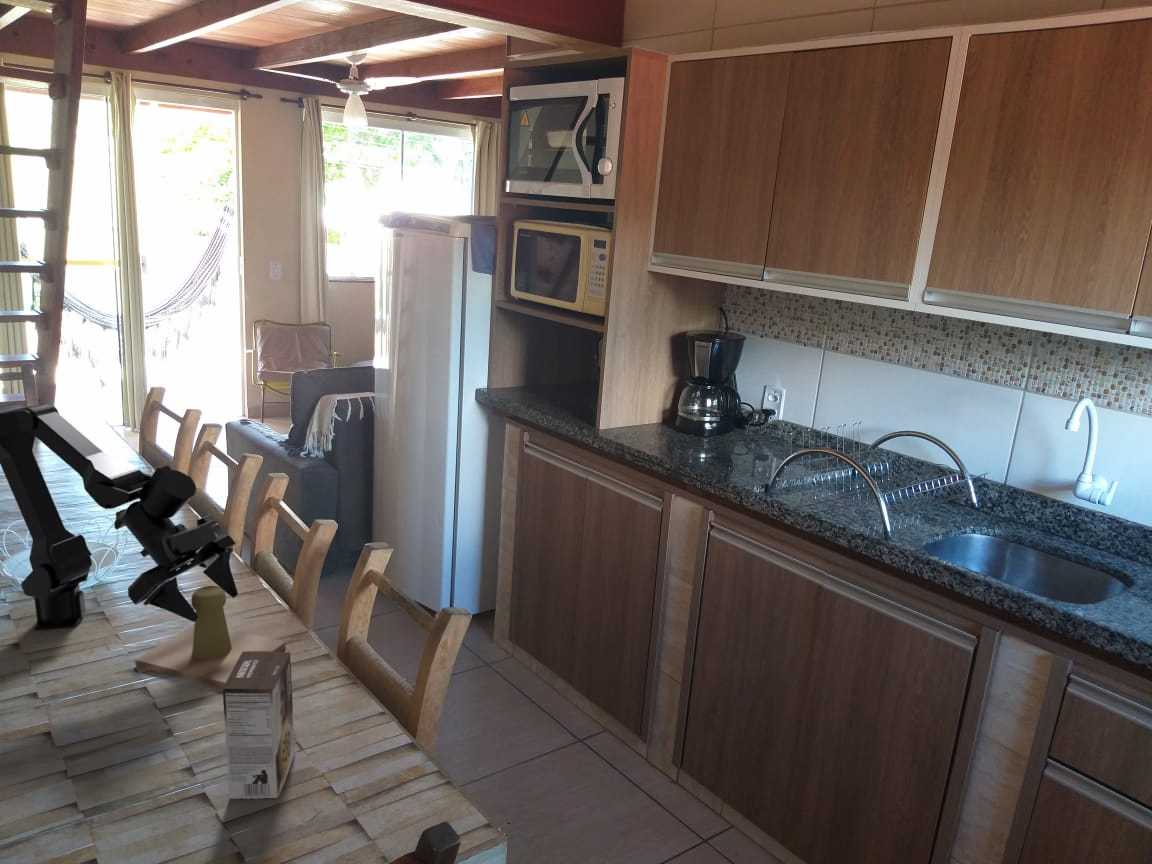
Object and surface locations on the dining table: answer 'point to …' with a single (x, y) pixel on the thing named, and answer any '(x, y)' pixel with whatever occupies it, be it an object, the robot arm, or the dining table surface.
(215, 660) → the walnut board
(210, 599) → the cork
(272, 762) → the coffee box
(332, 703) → the dining table surface
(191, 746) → the dining table surface
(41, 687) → the dining table surface
